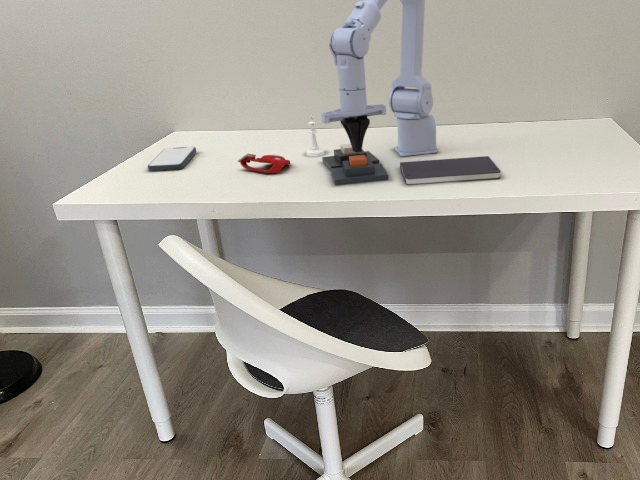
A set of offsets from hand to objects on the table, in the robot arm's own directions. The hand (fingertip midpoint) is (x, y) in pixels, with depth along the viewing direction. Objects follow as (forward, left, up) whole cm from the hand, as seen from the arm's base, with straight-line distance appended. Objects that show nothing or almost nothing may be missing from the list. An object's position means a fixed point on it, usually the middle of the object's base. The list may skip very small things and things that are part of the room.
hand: (357, 151), depth 140 cm
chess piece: (+7, -24, -6) cm, 26 cm away
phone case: (+43, -31, -6) cm, 53 cm away
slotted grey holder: (0, 0, -6) cm, 6 cm away
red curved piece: (+20, -15, -6) cm, 26 cm away
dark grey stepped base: (0, -11, -6) cm, 13 cm away
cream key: (0, -11, -3) cm, 11 cm away
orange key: (0, 0, -3) cm, 3 cm away
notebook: (-20, +5, -6) cm, 21 cm away
